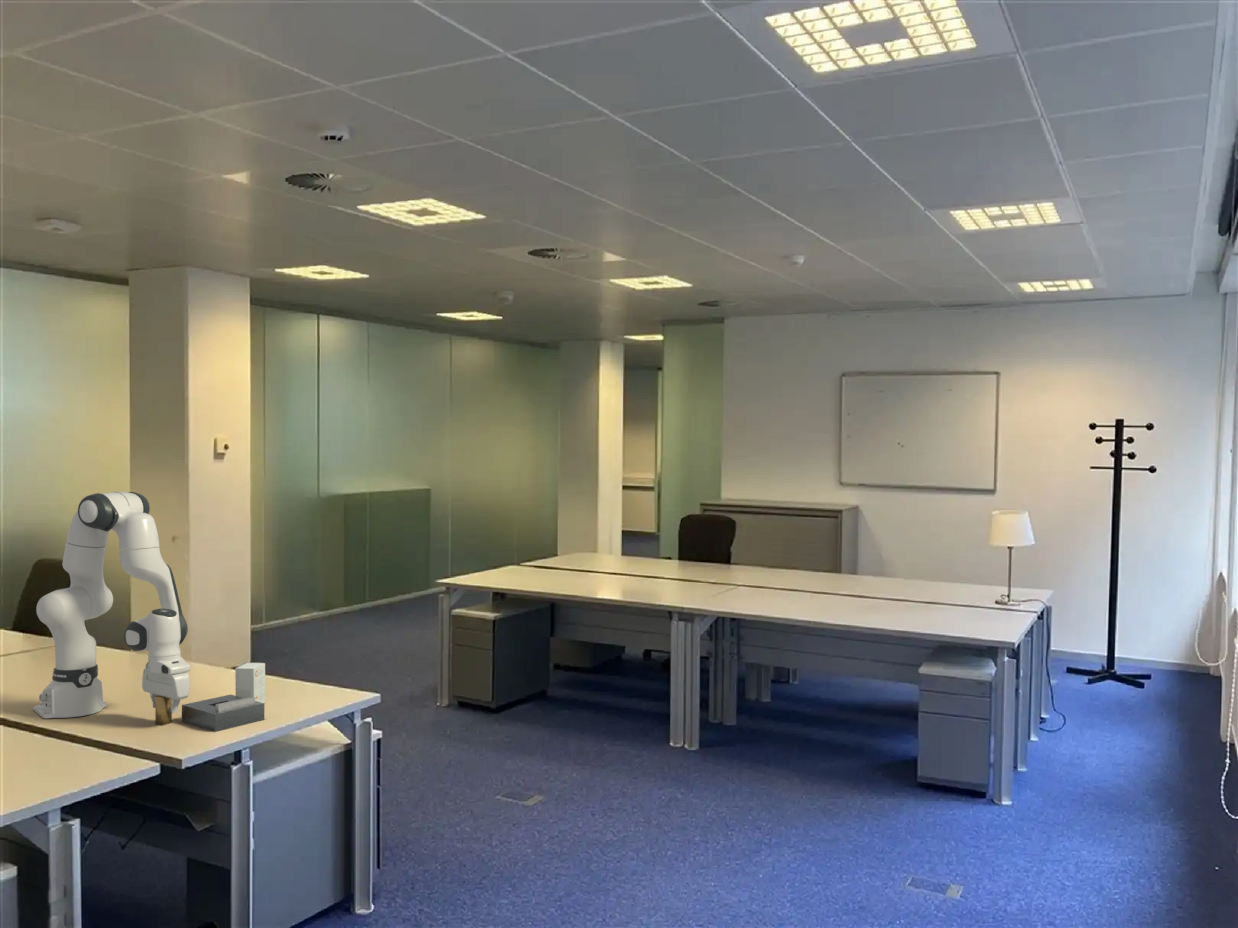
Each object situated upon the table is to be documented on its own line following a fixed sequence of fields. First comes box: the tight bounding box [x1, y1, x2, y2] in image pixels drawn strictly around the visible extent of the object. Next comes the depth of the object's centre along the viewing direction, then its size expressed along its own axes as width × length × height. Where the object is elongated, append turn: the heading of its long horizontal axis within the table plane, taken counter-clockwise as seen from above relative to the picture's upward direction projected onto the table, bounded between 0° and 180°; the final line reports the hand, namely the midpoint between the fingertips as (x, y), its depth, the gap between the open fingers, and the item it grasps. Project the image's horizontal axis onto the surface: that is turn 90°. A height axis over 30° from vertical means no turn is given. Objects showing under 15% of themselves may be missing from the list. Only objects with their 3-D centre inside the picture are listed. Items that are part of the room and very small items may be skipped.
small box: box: [234, 662, 266, 704], centre depth 310 cm, size 8×6×13 cm
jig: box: [181, 694, 265, 733], centre depth 293 cm, size 18×16×7 cm
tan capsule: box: [154, 695, 173, 726], centre depth 290 cm, size 4×4×8 cm
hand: (165, 710), depth 290 cm, fingers open, 8 cm apart
